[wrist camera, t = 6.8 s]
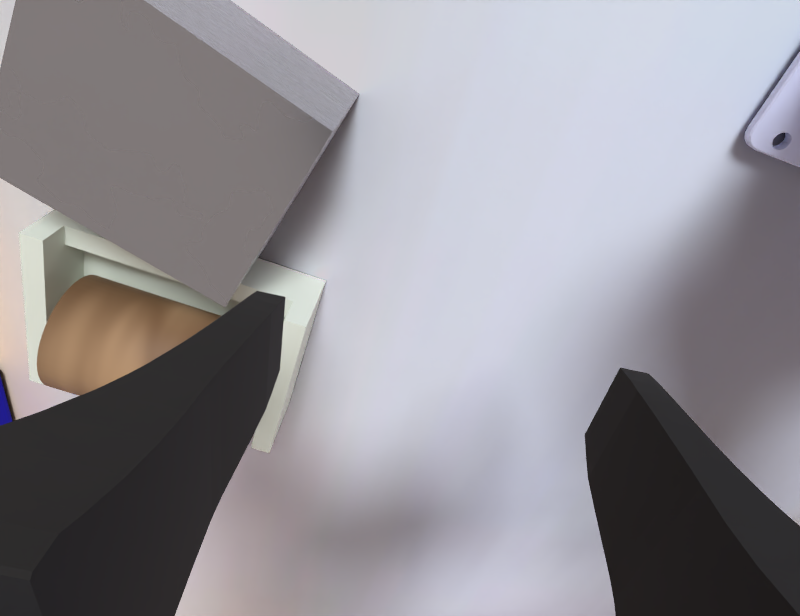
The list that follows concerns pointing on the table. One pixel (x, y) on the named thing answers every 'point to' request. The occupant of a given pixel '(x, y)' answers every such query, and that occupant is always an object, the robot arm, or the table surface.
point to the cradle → (94, 255)
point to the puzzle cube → (4, 406)
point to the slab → (164, 127)
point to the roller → (110, 333)
